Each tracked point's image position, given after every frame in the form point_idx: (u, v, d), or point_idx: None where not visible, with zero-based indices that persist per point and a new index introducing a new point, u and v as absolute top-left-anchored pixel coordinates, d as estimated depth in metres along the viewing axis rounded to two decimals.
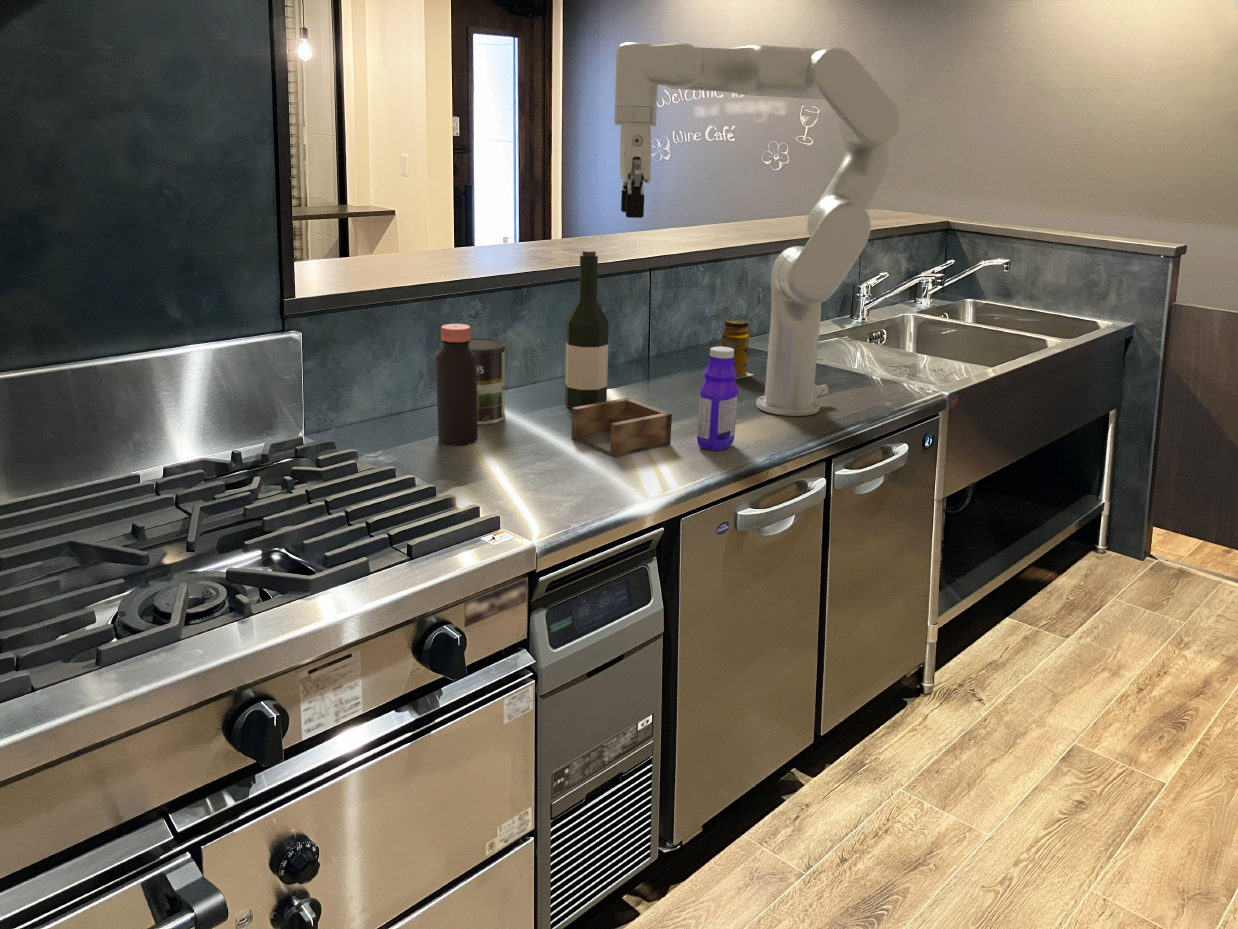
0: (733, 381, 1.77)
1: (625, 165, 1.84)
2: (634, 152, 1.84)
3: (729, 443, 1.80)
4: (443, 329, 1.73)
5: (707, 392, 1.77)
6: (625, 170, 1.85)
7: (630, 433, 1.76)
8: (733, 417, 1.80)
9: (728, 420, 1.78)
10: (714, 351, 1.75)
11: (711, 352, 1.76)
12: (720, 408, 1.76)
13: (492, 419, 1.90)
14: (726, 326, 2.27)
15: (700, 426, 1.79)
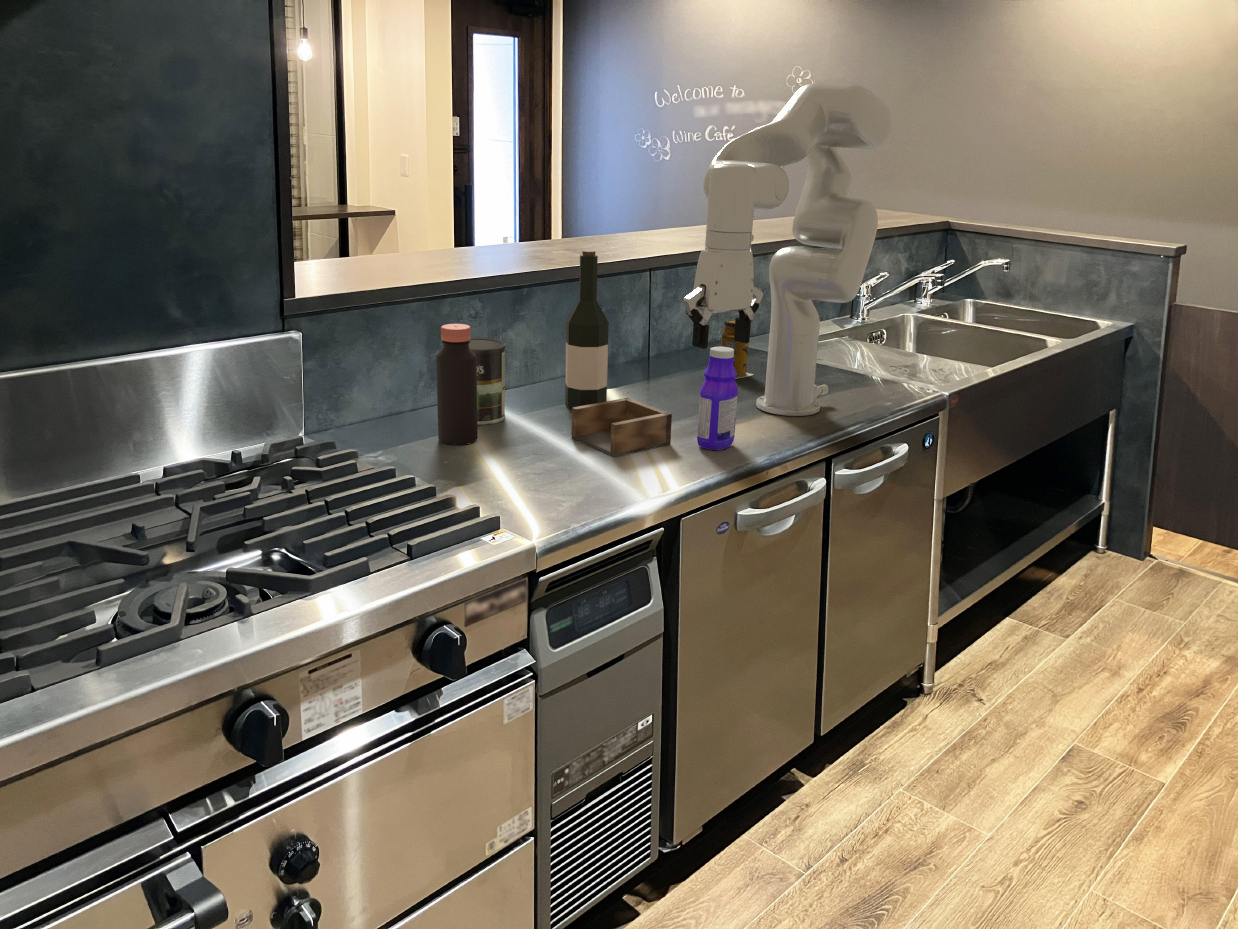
0: (733, 381, 1.77)
1: (752, 291, 1.75)
2: None
3: (729, 443, 1.80)
4: (443, 329, 1.73)
5: (707, 392, 1.77)
6: (752, 296, 1.75)
7: (630, 433, 1.76)
8: (733, 417, 1.80)
9: (728, 420, 1.78)
10: (714, 351, 1.75)
11: (711, 352, 1.76)
12: (720, 408, 1.76)
13: (492, 419, 1.90)
14: (726, 326, 2.27)
15: (700, 426, 1.79)
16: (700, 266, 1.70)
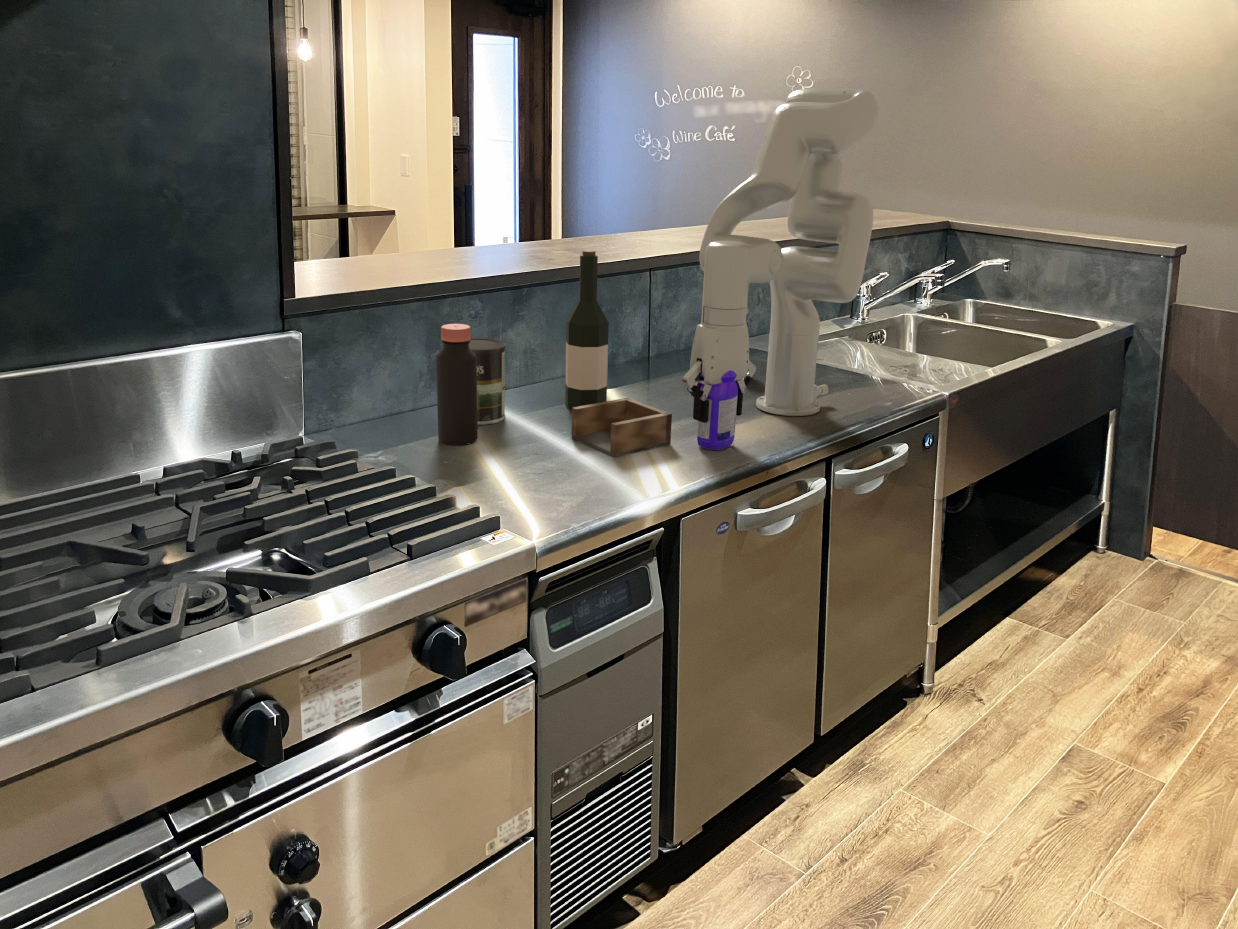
0: (733, 381, 1.77)
1: (748, 362, 1.79)
2: None
3: (729, 443, 1.80)
4: (443, 329, 1.73)
5: None
6: (747, 367, 1.79)
7: (630, 433, 1.76)
8: (733, 417, 1.80)
9: (728, 420, 1.78)
10: None
11: None
12: (720, 408, 1.76)
13: (492, 419, 1.90)
14: None
15: (700, 426, 1.79)
16: (696, 340, 1.74)
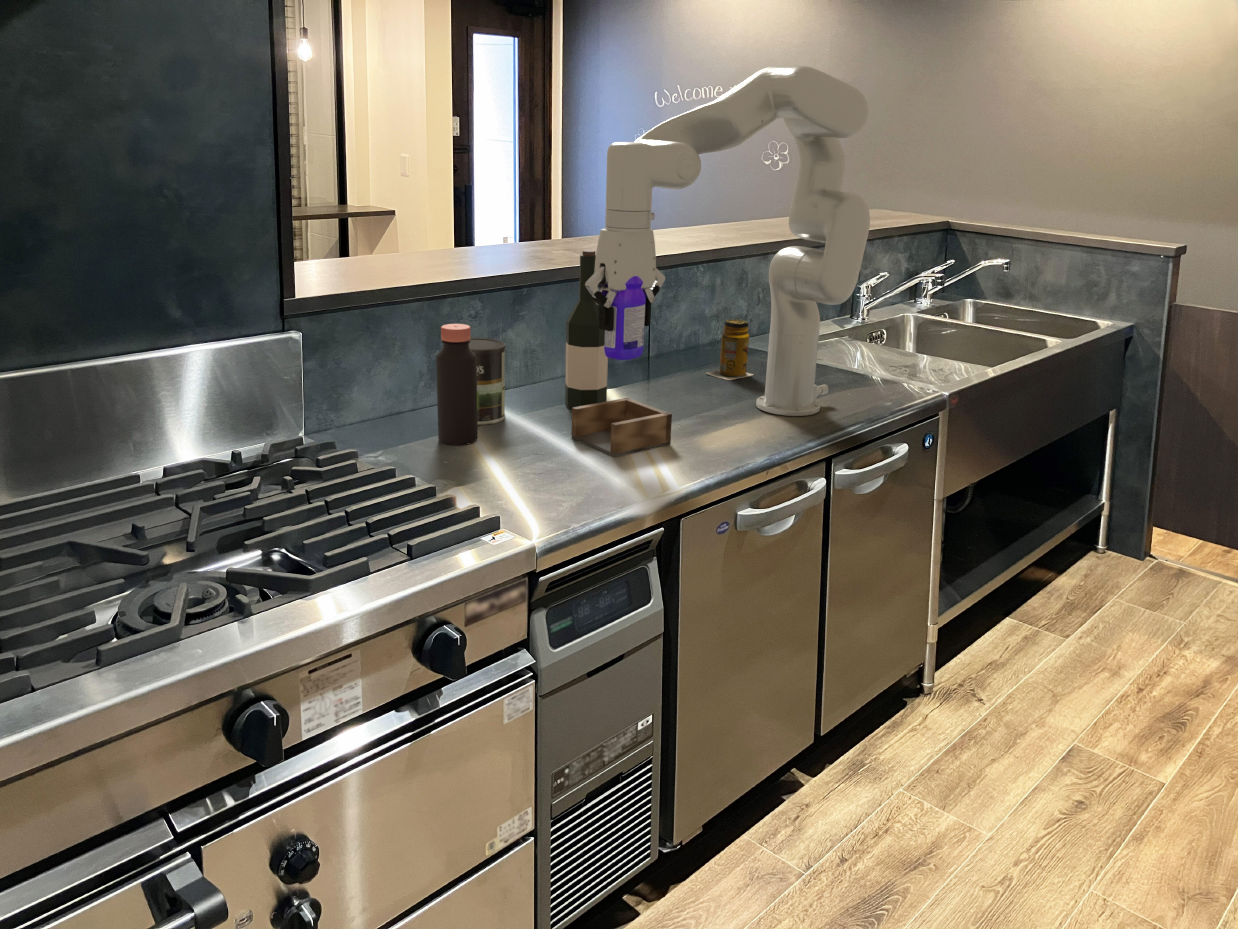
0: (639, 288, 1.73)
1: (655, 270, 1.75)
2: None
3: (637, 353, 1.76)
4: (443, 329, 1.73)
5: None
6: (655, 275, 1.75)
7: (630, 433, 1.76)
8: (641, 326, 1.75)
9: (634, 328, 1.74)
10: None
11: None
12: (625, 316, 1.72)
13: (492, 419, 1.90)
14: (726, 326, 2.27)
15: (606, 336, 1.75)
16: (600, 245, 1.70)
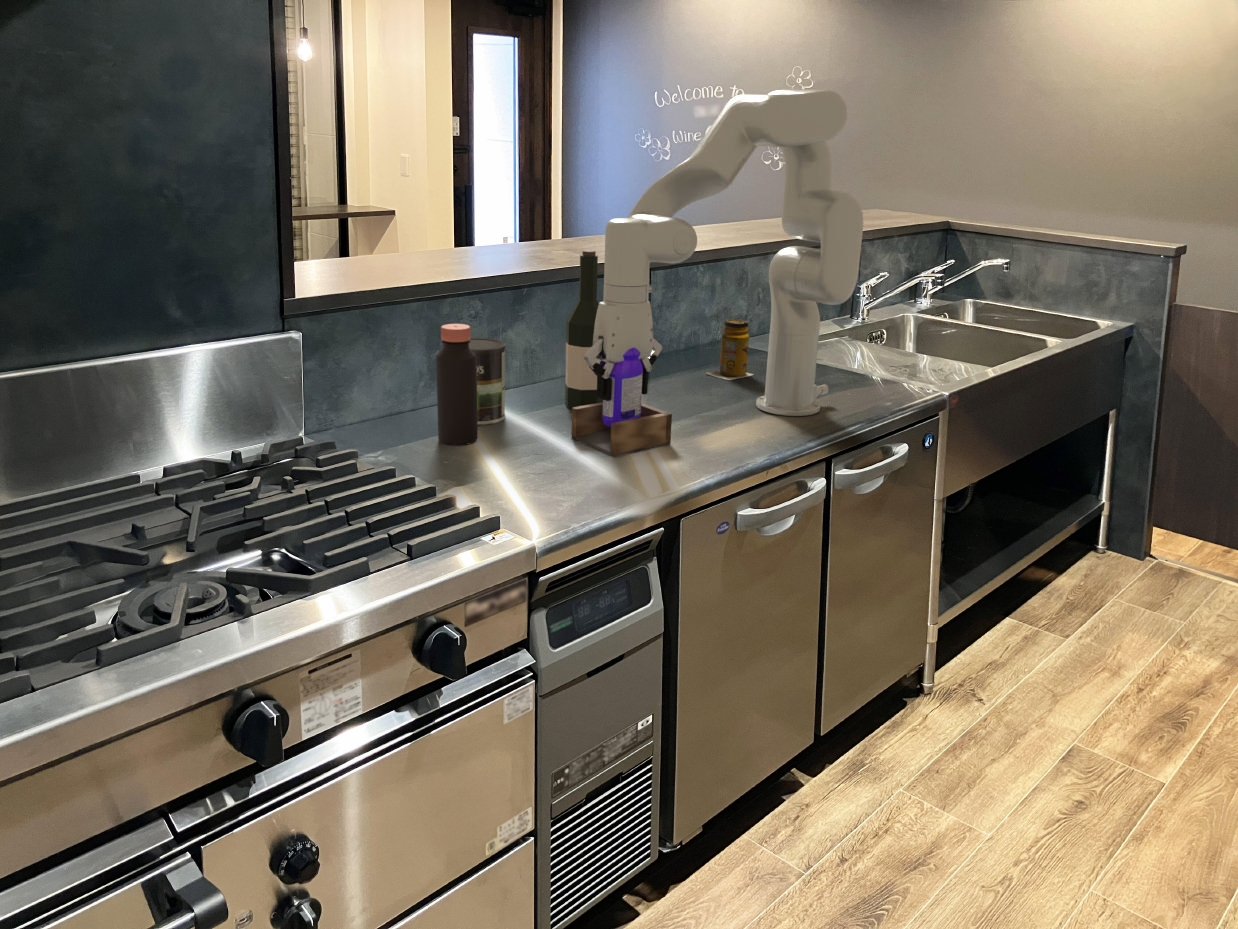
0: (637, 359, 1.77)
1: (652, 341, 1.79)
2: None
3: None
4: (443, 329, 1.73)
5: None
6: (652, 345, 1.79)
7: (630, 433, 1.76)
8: (638, 395, 1.79)
9: (632, 398, 1.78)
10: None
11: None
12: (623, 386, 1.76)
13: (492, 419, 1.90)
14: (726, 326, 2.27)
15: (604, 405, 1.79)
16: (598, 318, 1.74)
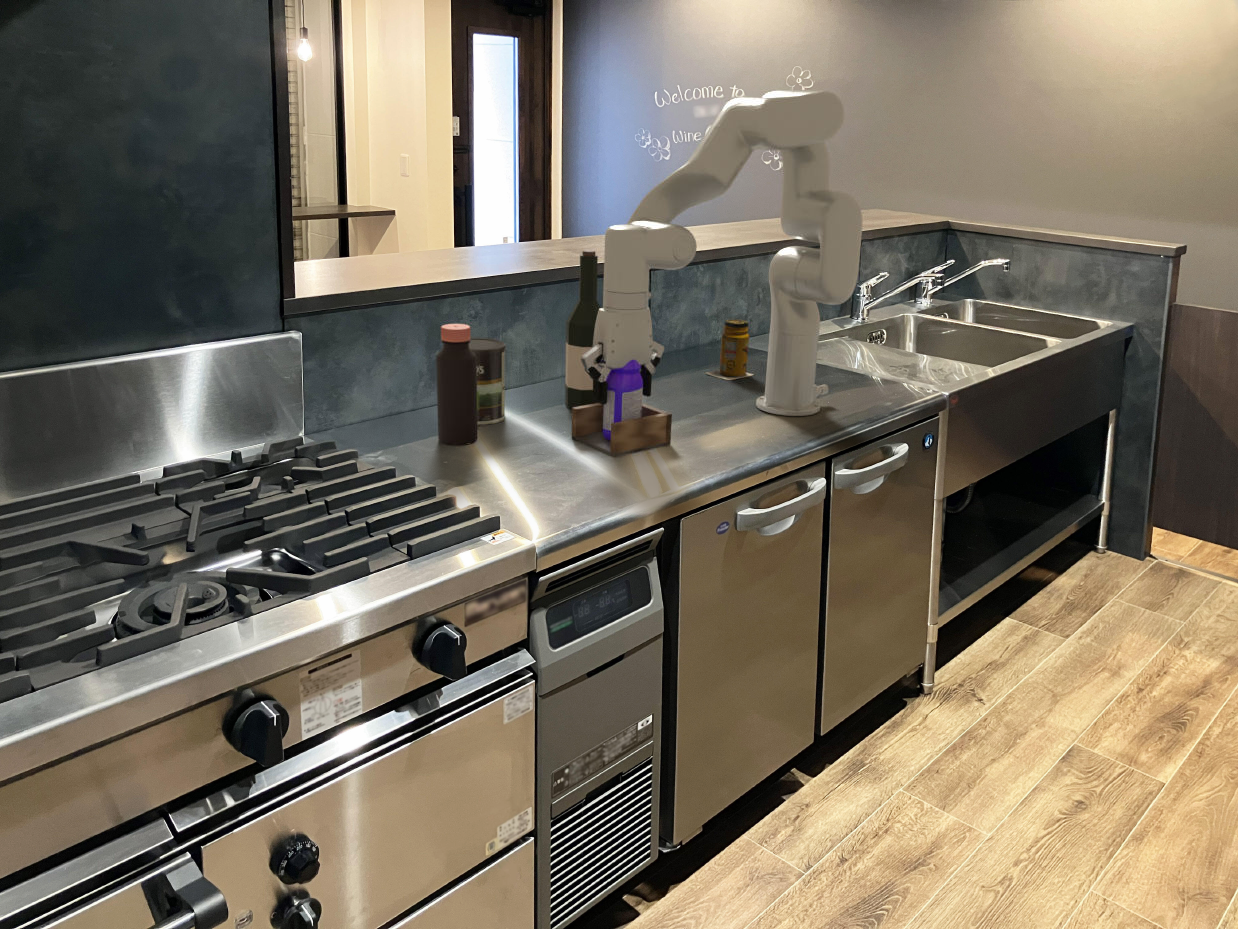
0: (637, 373, 1.78)
1: (652, 347, 1.79)
2: None
3: None
4: (443, 329, 1.73)
5: (610, 384, 1.77)
6: (651, 352, 1.79)
7: (630, 433, 1.76)
8: (638, 409, 1.80)
9: (632, 412, 1.79)
10: None
11: None
12: (623, 400, 1.77)
13: (492, 419, 1.90)
14: (726, 326, 2.27)
15: (605, 418, 1.79)
16: (598, 325, 1.74)
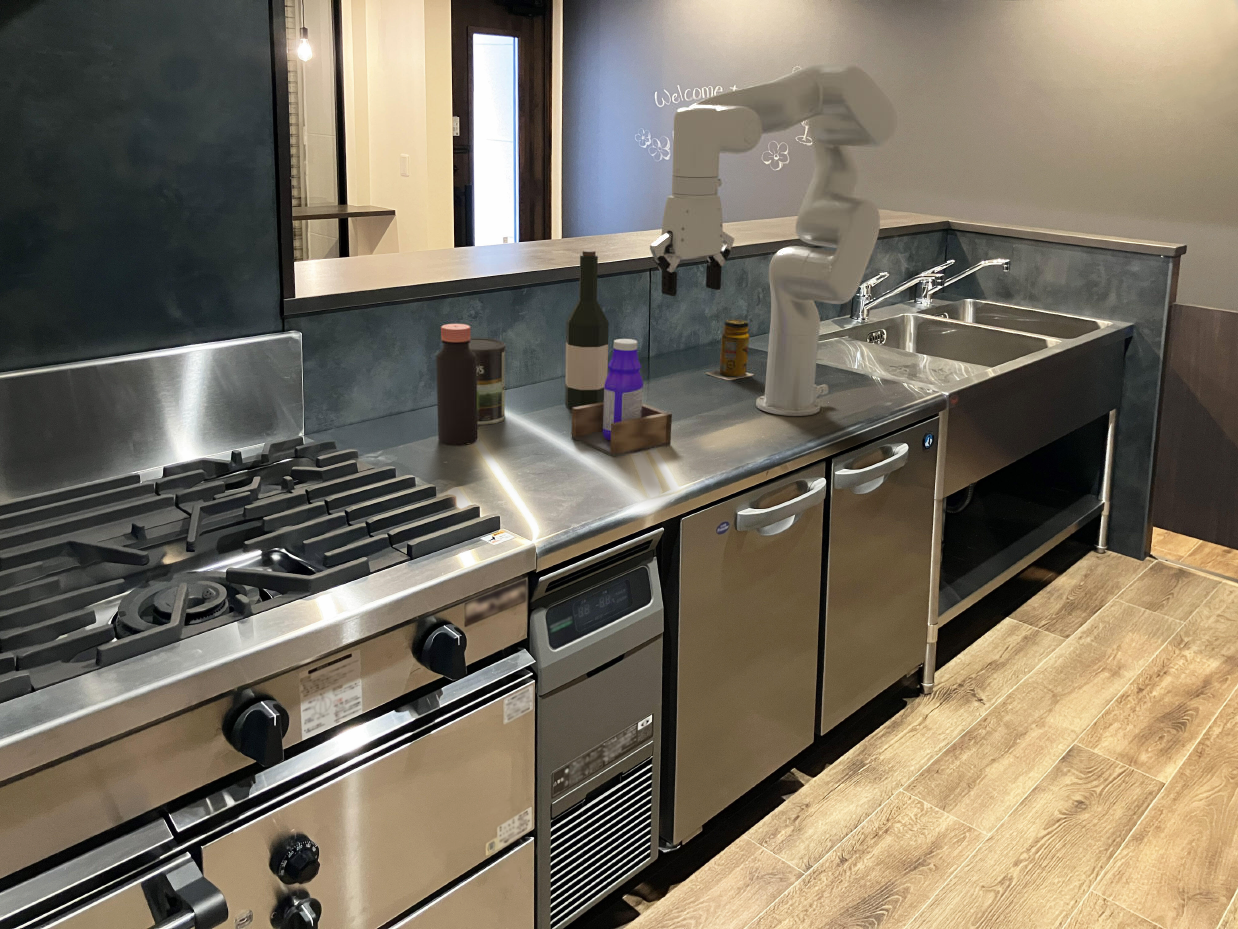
0: (637, 373, 1.78)
1: (722, 237, 1.74)
2: None
3: None
4: (443, 329, 1.73)
5: (610, 384, 1.77)
6: (721, 242, 1.74)
7: (630, 433, 1.76)
8: (638, 409, 1.80)
9: (632, 412, 1.79)
10: (617, 343, 1.76)
11: (614, 344, 1.77)
12: (623, 400, 1.77)
13: (492, 419, 1.90)
14: (726, 326, 2.27)
15: (605, 418, 1.79)
16: (667, 212, 1.69)
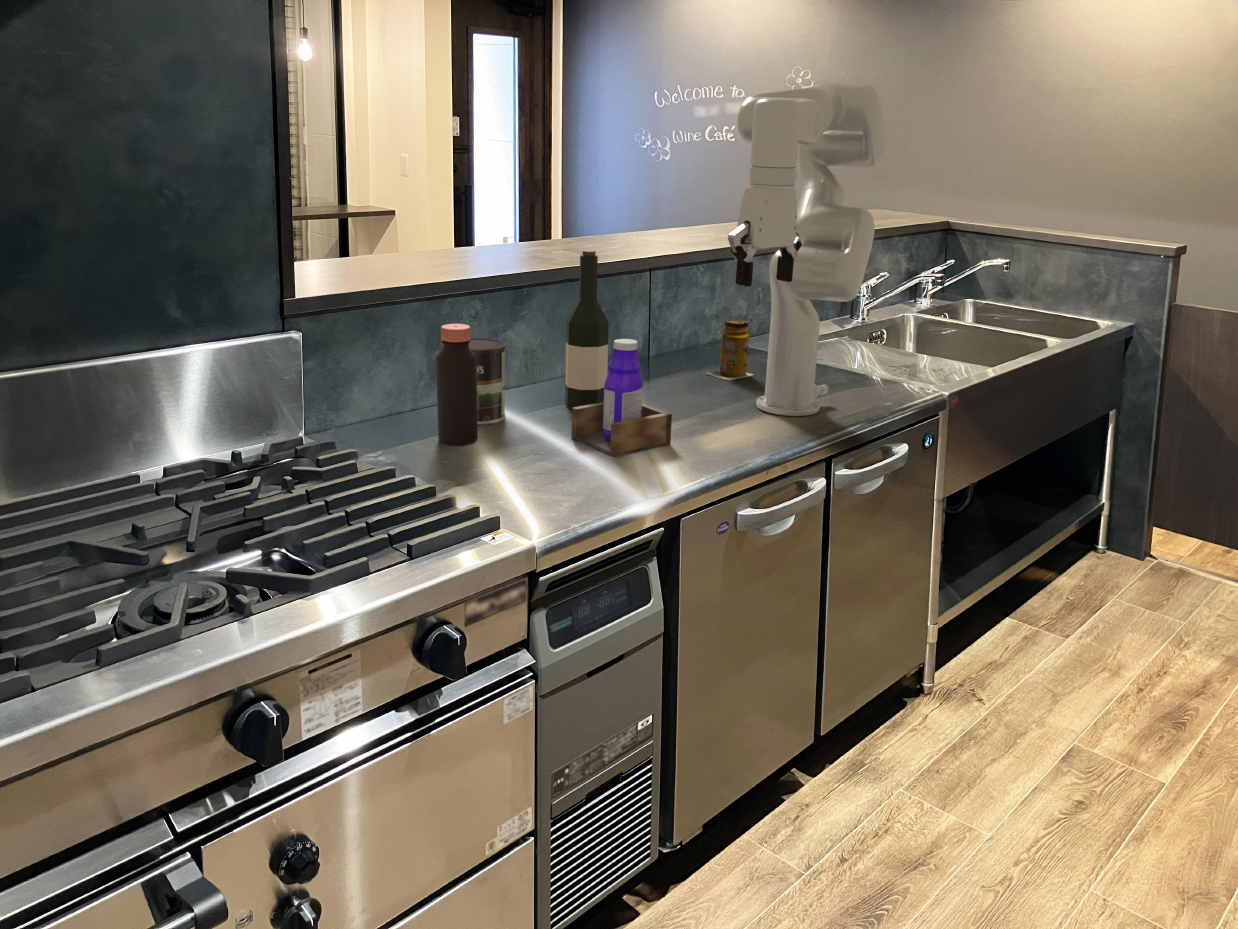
0: (637, 373, 1.78)
1: (796, 229, 1.74)
2: None
3: None
4: (443, 329, 1.73)
5: (610, 384, 1.77)
6: (795, 234, 1.74)
7: (630, 433, 1.76)
8: (638, 409, 1.80)
9: (632, 412, 1.79)
10: (617, 343, 1.76)
11: (614, 344, 1.77)
12: (623, 400, 1.77)
13: (492, 419, 1.90)
14: (726, 326, 2.27)
15: (605, 418, 1.79)
16: (744, 203, 1.69)
